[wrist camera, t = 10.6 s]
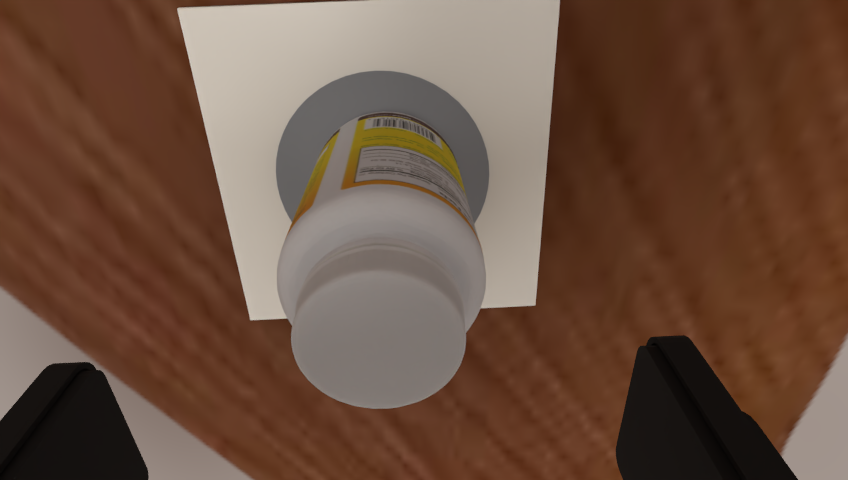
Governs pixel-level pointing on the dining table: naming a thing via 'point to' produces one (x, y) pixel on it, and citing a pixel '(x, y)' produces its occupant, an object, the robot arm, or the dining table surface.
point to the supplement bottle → (382, 265)
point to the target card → (377, 92)
